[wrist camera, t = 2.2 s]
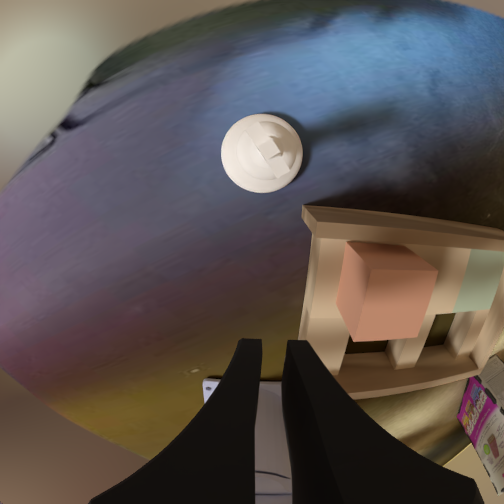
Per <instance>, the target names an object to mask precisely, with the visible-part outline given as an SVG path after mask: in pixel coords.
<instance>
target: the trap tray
mask: <svg viewBox="0 0 504 504" xmlns="http://www.w3.org/2000/svg"><path fill="white" fill-rule="evenodd" d="M302 219H303V220H304V222H305V223H306V225H307V226H308V227H309V229H310V230H311V232H312V241H311V250H310V258H309V267H308V275H307V282H306V290H305V297H304V304H303V311H302V317H301V324H300V330H299V336H298V340H307V341H308V342H309V343H310V344H311V346H312V347H313V349H314V350H315V352H316V353H317V355H318V356H319V358H320V359H321V361H322V362H323V363H324V365H325V366H326V367H327V369H328V370H329V371H330V373H331V374H332V375H333V376H334V378H335V379H336V380H337V381H338V383H339V384H340V385H341V386H342V388H343V389H344V390H345V391H346V392H347V393H348V395H349V396H350V397H351V398H352V399H353V400H355V399H364V398H372V397H380V396H387V395H393V394H399V393H405V392H410V391H415V390H420V389H425V388H430V387H434V386H439V385H443V384H447V383H451V382H454V381H458V380H462V379H465V378H469V377H472V376H475V375H479V374H481V372H482V370H483V368H484V366H485V365H486V363H487V361H488V359H489V357H490V355H491V353H492V351H493V349H494V347H495V345H496V343H497V341H498V339H499V337H500V335H501V333H502V330H503V328H504V231H502V230H500V229H498V228H492V227H487V226H481V225H475V224H469V223H462V222H456V221H449V220H442V219H435V218H428V217H420V216H412V215H404V214H396V213H387V212H377V211H368V210H357V209H347V208H335V207H323V206H310V205H303V207H302ZM346 242H358V243H374V244H389V245H404V246H406V247H407V248H409V249H410V250H411V251H413V252H414V253H415V254H417V255H418V256H420V257H421V258H422V259H424V260H425V261H426V262H428V263H429V264H430V265H432V266H433V267H434V268H436V269H437V270H438V275H437V279H436V282H435V286H434V289H433V292H432V296H431V299H430V302H429V305H428V308H427V311H426V314H425V317H424V320H423V323H422V325H421V328H420V331H419V333H418V336H417V337H415V338H404V339H392V340H389V341H388V343H387V346H386V349H385V351H384V352H372V353H356V354H344V353H345V350H346V346H347V343H348V339H349V335H350V333H349V331H348V329H347V326H346V324H345V322H344V320H343V318H342V316H341V314H340V312H339V310H338V307H337V305H336V298H337V293H338V288H339V282H340V277H341V271H342V265H343V259H344V252H345V246H346ZM446 313H456V315H455V317H454V320H453V322H452V325H451V327H450V330H449V332H448V335H447V337H446V339H445V342H444V344H443V345H436V346H429V347H423V346H424V344H425V341H426V339H427V336H428V334H429V331H430V329H431V326H432V323H433V321H434V318H435V315H436V314H446ZM285 356H286V355H285ZM284 362H285V361H284Z"/></svg>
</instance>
